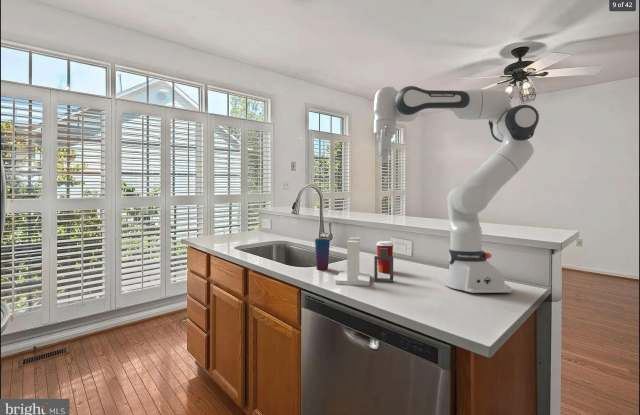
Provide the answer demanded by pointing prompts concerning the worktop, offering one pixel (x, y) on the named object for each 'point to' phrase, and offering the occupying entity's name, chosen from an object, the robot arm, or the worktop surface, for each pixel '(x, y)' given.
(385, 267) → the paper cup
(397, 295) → the worktop surface
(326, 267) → the cup
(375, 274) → the loop
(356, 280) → the white post stand
